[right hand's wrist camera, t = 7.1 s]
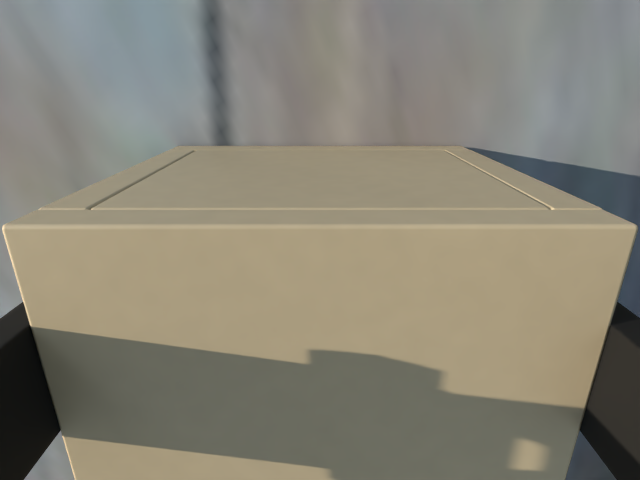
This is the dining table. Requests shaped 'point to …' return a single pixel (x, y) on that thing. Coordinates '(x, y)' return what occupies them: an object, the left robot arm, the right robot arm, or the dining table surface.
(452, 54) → the dining table surface
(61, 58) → the dining table surface
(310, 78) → the dining table surface
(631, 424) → the right robot arm
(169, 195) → the cabinet
